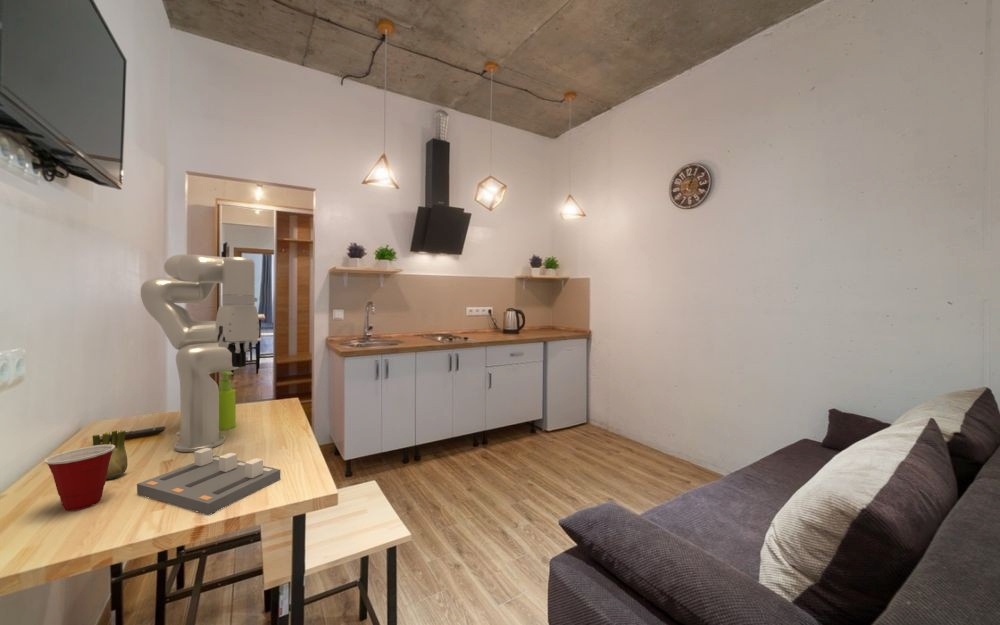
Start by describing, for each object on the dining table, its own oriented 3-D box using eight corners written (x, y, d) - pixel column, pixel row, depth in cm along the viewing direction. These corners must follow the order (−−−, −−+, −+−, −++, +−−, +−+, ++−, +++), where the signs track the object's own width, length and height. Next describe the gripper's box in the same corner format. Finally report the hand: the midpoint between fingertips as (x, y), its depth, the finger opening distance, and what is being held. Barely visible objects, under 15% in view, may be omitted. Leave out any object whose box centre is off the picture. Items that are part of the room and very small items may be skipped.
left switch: (194, 464, 102) (194, 451, 102) (206, 460, 105) (206, 447, 105) (200, 466, 101) (200, 453, 101) (212, 461, 104) (212, 448, 104)
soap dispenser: (221, 432, 134) (221, 374, 133) (212, 428, 138) (211, 371, 137) (240, 427, 139) (240, 371, 138) (230, 423, 143) (230, 369, 142)
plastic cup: (101, 488, 94) (100, 439, 94) (126, 498, 90) (125, 446, 90) (34, 510, 84) (33, 455, 84) (59, 522, 80) (58, 464, 80)
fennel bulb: (89, 482, 97) (89, 434, 97) (105, 473, 102) (104, 428, 102) (117, 480, 98) (116, 433, 98) (131, 472, 103) (130, 427, 103)
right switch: (244, 476, 96) (244, 462, 96) (255, 471, 99) (256, 458, 99) (251, 478, 96) (251, 464, 95) (263, 473, 98) (263, 459, 98)
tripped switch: (219, 470, 99) (219, 456, 99) (230, 465, 102) (230, 452, 102) (225, 472, 99) (225, 458, 98) (237, 467, 101) (237, 454, 101)
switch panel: (137, 494, 92) (136, 483, 92) (214, 464, 109) (214, 454, 109) (208, 515, 84) (208, 503, 84) (280, 479, 101) (280, 469, 101)
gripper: (253, 301, 118) (253, 361, 119) (201, 301, 104) (201, 369, 105) (272, 301, 116) (272, 363, 116) (221, 301, 101) (221, 372, 102)
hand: (238, 366), depth 110 cm, fingers closed
